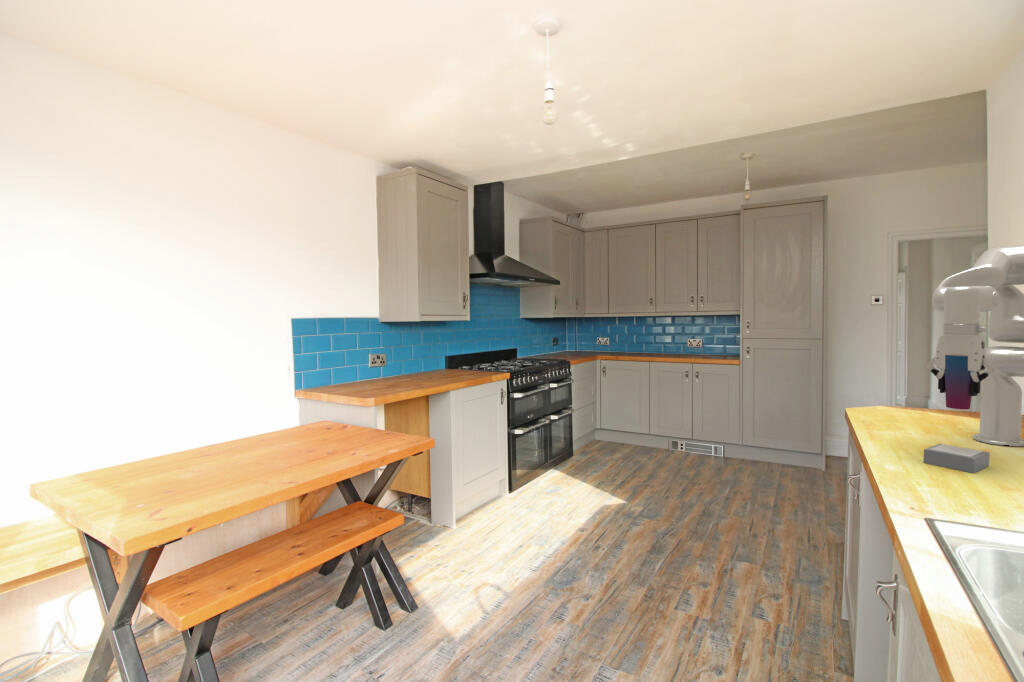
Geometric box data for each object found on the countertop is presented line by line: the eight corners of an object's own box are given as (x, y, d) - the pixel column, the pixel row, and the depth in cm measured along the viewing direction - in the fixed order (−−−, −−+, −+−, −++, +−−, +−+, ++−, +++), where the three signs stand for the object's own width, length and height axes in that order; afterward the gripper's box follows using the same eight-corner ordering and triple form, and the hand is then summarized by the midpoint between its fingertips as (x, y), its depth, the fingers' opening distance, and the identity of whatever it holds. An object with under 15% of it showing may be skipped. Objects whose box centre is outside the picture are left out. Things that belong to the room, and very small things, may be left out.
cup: (980, 410, 134) (982, 356, 133) (952, 409, 136) (954, 356, 135) (963, 405, 141) (965, 353, 140) (936, 405, 142) (937, 353, 141)
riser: (939, 456, 147) (940, 443, 147) (988, 466, 137) (989, 451, 137) (923, 462, 141) (923, 448, 141) (973, 473, 132) (974, 458, 132)
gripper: (1007, 330, 131) (1005, 397, 133) (928, 329, 146) (926, 388, 147) (997, 331, 128) (994, 400, 129) (917, 330, 143) (915, 391, 144)
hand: (958, 393), depth 138 cm, fingers closed on cup, 6 cm apart
